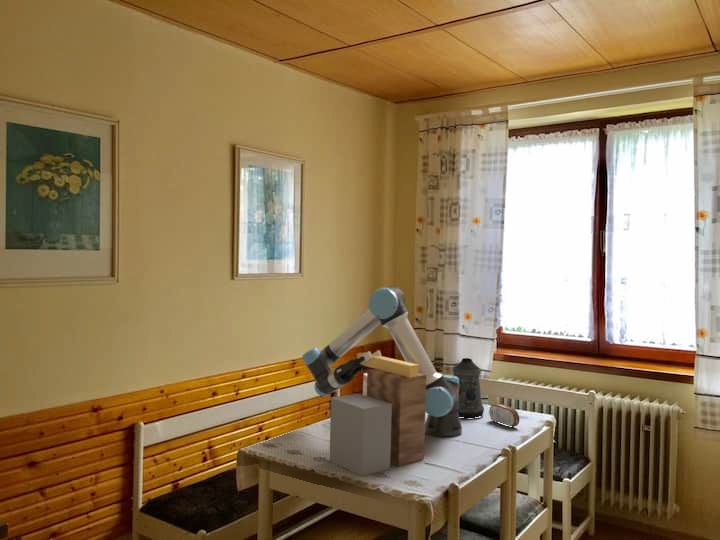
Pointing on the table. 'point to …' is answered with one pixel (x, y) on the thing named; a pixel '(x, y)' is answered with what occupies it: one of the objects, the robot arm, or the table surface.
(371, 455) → the grey base
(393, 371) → the ochre bar
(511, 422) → the tin
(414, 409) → the walnut pedestal
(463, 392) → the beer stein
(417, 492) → the table surface
